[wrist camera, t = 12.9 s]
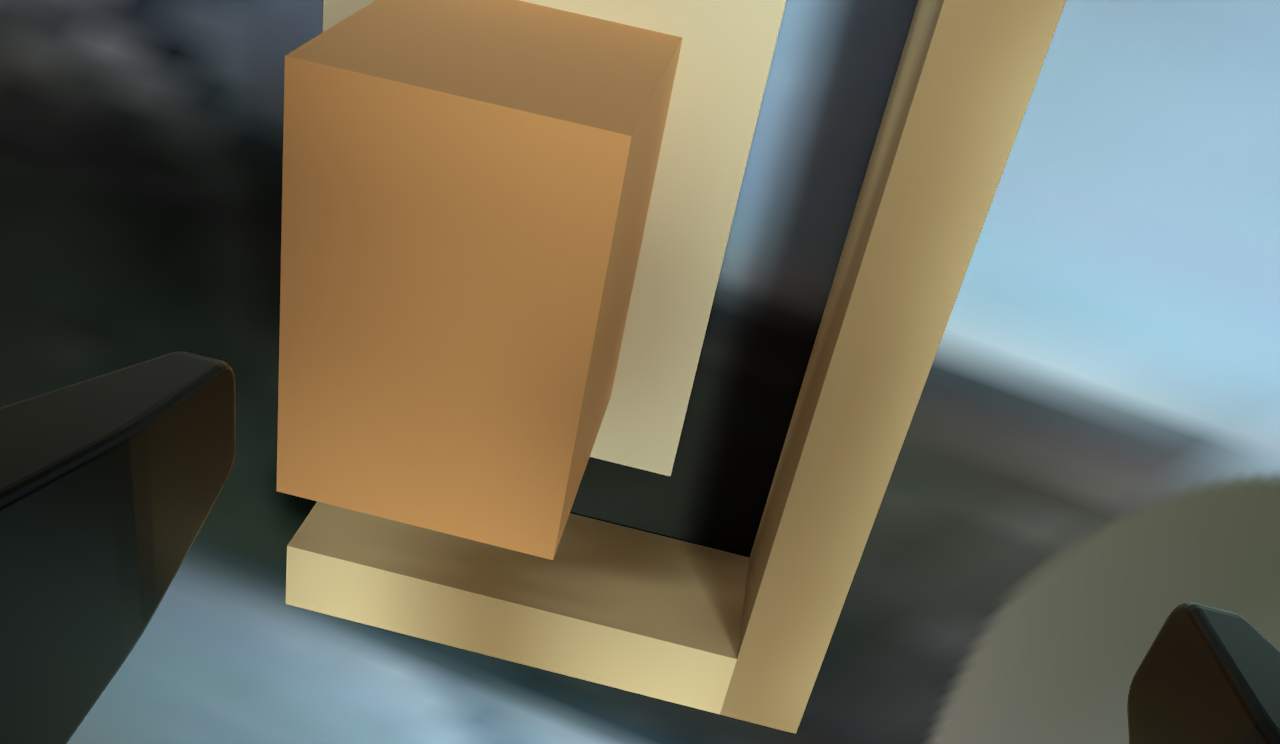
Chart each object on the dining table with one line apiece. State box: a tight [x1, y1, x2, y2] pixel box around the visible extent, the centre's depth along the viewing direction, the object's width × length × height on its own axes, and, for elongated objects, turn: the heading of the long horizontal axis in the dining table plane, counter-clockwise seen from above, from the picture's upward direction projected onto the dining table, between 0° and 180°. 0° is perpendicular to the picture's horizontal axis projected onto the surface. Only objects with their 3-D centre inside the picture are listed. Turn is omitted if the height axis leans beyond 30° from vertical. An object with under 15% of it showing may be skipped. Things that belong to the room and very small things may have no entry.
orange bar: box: [277, 0, 683, 560], centre depth 18 cm, size 7×4×5 cm, turn 169°
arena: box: [286, 0, 1066, 734], centre depth 20 cm, size 10×16×3 cm, turn 170°
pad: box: [323, 0, 786, 476], centre depth 21 cm, size 8×10×1 cm
